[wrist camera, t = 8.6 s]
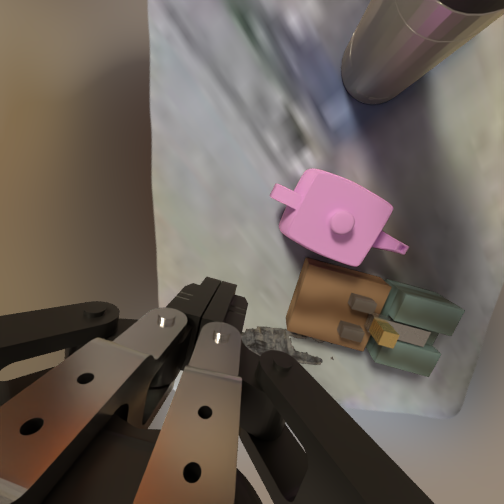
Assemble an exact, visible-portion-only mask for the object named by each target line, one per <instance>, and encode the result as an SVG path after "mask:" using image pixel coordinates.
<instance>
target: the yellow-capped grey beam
mask: <svg viewBox="0 0 504 504" xmlns="http://www.w3.org/2000/svg"><path fill="white" fill-rule="evenodd" d="M364 326H365V328H366V329H367V331H368V332H370V333H371V335H372V336H373V338H374V339H375V341H376V342H377V344H378V345H382V346H386V347H389V348H394V346H395V344H396V342H397V340H400V341H404V342H407V343H411V344H414V345H418V346H422V347H424V345H425V343H426V341H427V339H428V337H429V335H430V333H431V332H430V331H429V330H427V329H423V328H420V327H416V326H412V325H409V324H405V323H401V322H398V321H394V320H393V319H392V318H391V317H389V316H385V315H381V314H378V313H374V314H373V315H372V314H369V315H368V317H367V320H366V322H365V324H364Z"/></svg>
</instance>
